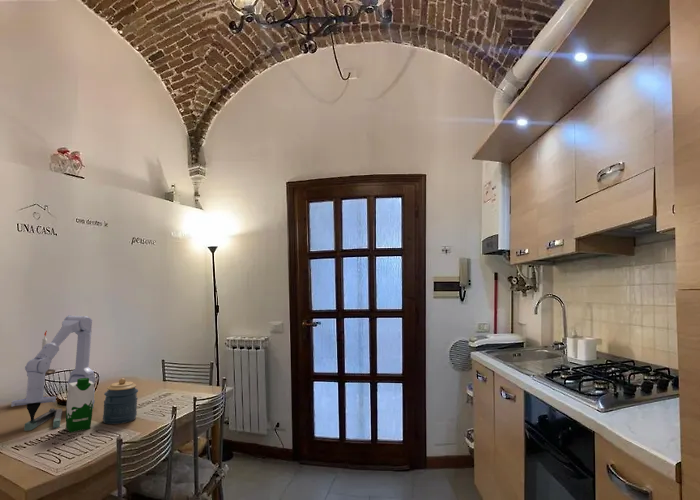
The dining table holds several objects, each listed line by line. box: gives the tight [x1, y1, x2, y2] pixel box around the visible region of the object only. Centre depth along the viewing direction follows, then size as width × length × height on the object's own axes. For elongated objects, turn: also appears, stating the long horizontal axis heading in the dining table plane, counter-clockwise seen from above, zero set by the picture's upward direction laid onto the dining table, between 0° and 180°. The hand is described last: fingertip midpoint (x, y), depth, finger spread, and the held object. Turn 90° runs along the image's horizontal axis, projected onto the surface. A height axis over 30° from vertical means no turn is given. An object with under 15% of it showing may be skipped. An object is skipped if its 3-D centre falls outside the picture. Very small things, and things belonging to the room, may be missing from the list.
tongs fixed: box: [48, 407, 63, 429], centre depth 173 cm, size 5×20×3 cm, turn 33°
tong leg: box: [23, 411, 53, 432], centre depth 170 cm, size 2×16×3 cm, turn 10°
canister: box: [102, 377, 139, 425], centre depth 178 cm, size 13×13×18 cm
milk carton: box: [65, 378, 95, 433], centre depth 166 cm, size 9×9×20 cm
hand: (32, 422), depth 168 cm, fingers closed, pressing on tong leg
